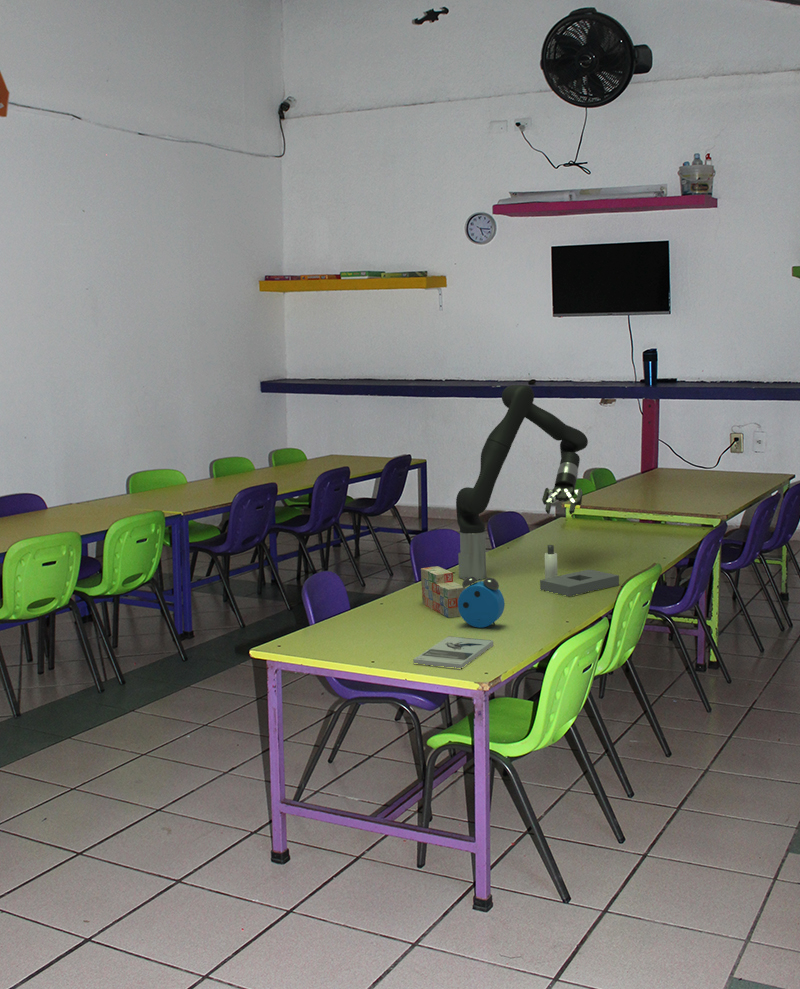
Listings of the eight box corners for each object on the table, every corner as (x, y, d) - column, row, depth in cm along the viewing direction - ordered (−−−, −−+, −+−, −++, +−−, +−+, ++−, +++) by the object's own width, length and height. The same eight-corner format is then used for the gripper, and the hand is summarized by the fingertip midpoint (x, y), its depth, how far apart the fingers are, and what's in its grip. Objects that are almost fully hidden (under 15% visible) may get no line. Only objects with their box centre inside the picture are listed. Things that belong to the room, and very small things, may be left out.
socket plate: (569, 597, 329) (569, 586, 329) (540, 590, 341) (540, 580, 340) (619, 585, 343) (618, 575, 342) (589, 578, 354) (589, 569, 354)
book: (461, 671, 258) (460, 664, 258) (413, 666, 264) (413, 659, 264) (493, 647, 278) (493, 640, 278) (448, 642, 284) (448, 636, 284)
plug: (551, 583, 350) (550, 547, 348) (542, 581, 354) (541, 545, 352) (560, 581, 353) (559, 545, 351) (551, 579, 356) (550, 543, 354)
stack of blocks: (466, 615, 311) (465, 577, 310) (448, 618, 309) (446, 580, 307) (439, 601, 331) (437, 565, 329) (421, 603, 329) (420, 567, 327)
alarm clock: (505, 625, 298) (504, 576, 296) (498, 630, 293) (497, 581, 291) (465, 621, 304) (463, 574, 302) (457, 626, 299) (456, 578, 296)
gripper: (545, 471, 370) (538, 506, 361) (583, 471, 364) (576, 507, 355) (550, 483, 375) (542, 518, 367) (587, 483, 369) (580, 519, 361)
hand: (559, 512), depth 361 cm, fingers open, 8 cm apart
